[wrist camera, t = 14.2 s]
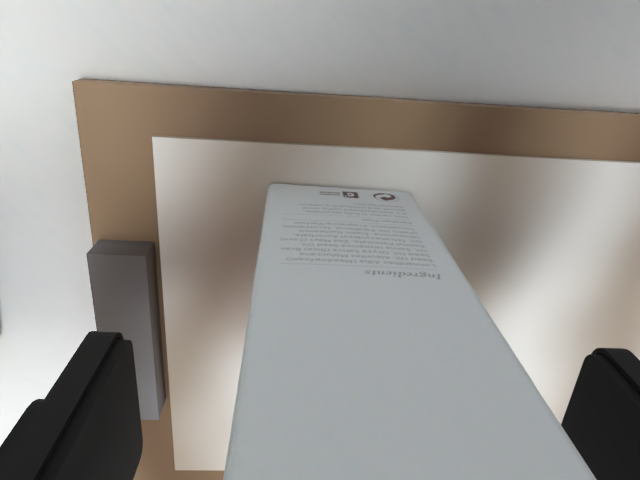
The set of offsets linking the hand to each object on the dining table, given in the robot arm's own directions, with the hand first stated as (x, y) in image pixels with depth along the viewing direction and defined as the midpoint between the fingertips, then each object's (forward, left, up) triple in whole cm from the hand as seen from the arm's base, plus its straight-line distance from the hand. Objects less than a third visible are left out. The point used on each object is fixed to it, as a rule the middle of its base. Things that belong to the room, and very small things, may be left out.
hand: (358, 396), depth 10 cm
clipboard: (-3, +2, -6) cm, 7 cm away
